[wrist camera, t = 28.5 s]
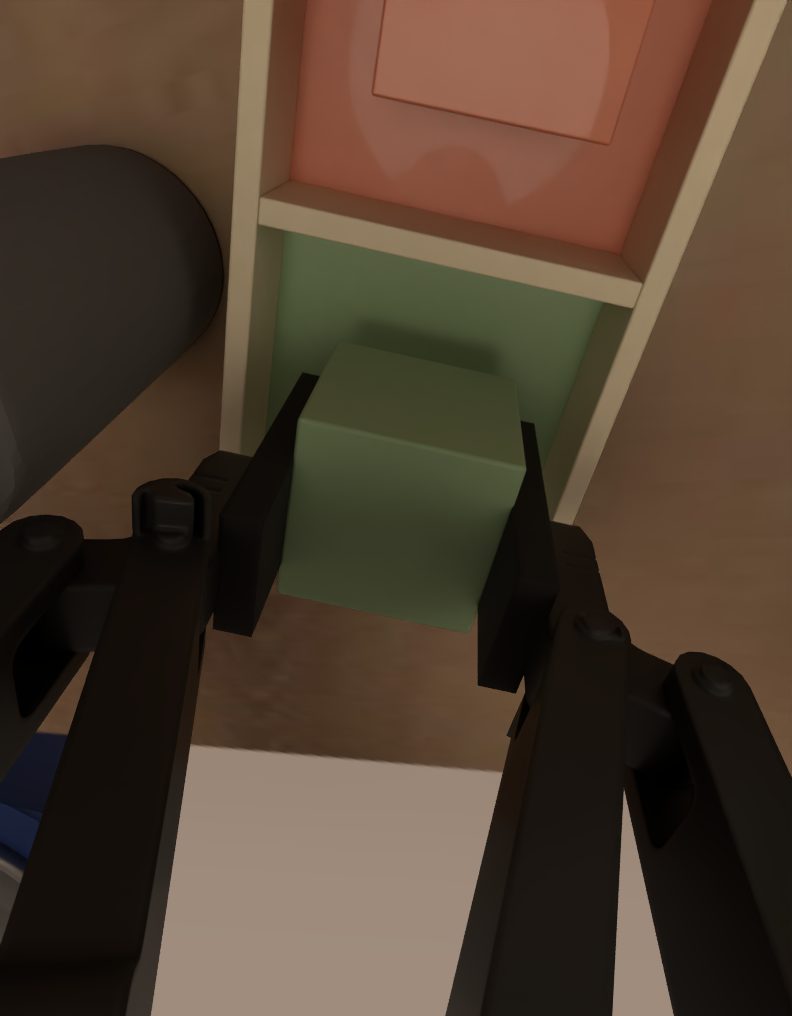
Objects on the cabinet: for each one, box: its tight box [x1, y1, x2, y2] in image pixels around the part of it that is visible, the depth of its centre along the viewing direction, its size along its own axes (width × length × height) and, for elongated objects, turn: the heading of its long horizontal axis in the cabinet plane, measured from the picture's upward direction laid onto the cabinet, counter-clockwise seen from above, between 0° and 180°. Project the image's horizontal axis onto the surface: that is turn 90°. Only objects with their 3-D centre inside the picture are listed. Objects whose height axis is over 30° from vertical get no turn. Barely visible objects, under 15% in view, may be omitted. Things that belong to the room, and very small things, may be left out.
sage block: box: [277, 341, 526, 633], centre depth 16 cm, size 4×4×4 cm
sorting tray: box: [219, 0, 788, 525], centre depth 17 cm, size 10×20×3 cm, turn 169°
